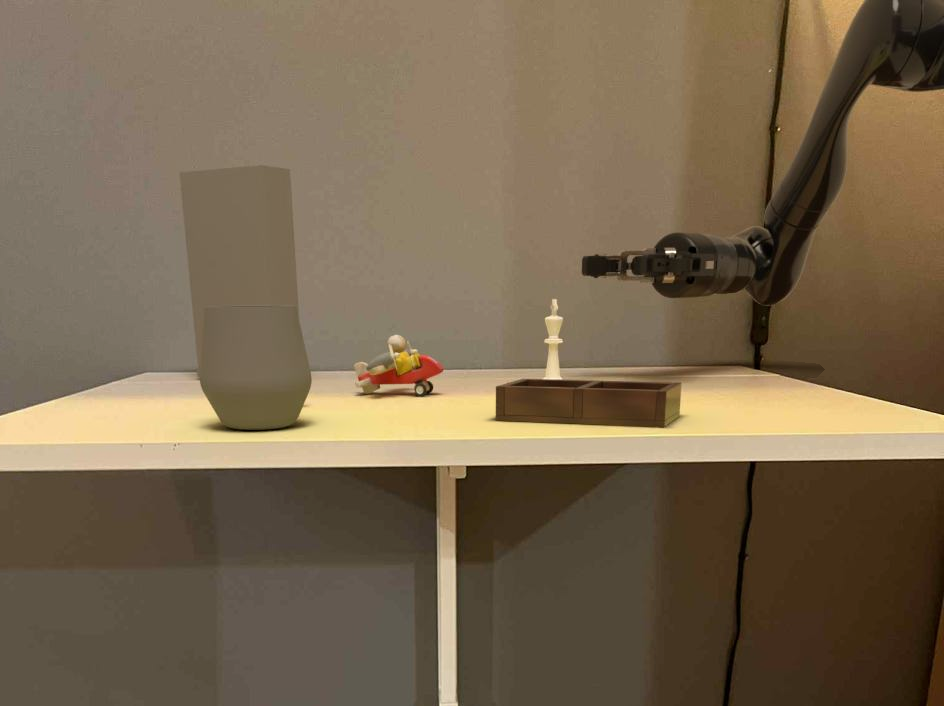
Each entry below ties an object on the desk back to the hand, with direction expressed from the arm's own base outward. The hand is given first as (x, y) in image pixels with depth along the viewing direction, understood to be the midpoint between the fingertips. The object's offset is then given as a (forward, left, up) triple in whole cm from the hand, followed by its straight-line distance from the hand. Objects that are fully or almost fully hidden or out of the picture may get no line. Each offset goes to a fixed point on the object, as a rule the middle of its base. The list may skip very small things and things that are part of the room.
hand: (613, 265), depth 112 cm
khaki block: (+47, +3, -14) cm, 49 cm away
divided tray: (-5, +29, -13) cm, 32 cm away
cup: (+21, +43, -14) cm, 50 cm away
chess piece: (+4, +9, -14) cm, 17 cm away
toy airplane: (+21, +15, -14) cm, 29 cm away
